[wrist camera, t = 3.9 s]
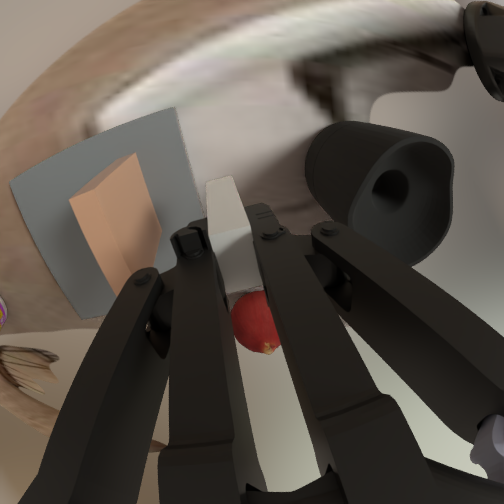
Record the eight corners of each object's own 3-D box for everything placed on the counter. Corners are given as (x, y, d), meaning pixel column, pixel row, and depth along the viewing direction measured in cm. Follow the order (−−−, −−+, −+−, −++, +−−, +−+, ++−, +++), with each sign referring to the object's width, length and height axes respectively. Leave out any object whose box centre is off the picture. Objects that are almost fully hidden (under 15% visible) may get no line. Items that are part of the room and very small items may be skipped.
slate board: (175, 106, 19) (173, 107, 18) (224, 280, 28) (225, 287, 27) (15, 177, 18) (8, 181, 17) (84, 312, 27) (81, 319, 26)
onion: (277, 313, 31) (296, 368, 25) (227, 317, 30) (236, 376, 24) (282, 272, 28) (306, 328, 22) (226, 275, 27) (236, 336, 21)
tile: (135, 152, 19) (94, 189, 11) (162, 230, 22) (145, 301, 15) (115, 159, 19) (66, 200, 11) (143, 235, 22) (120, 307, 15)
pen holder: (281, 191, 24) (325, 249, 15) (327, 97, 20) (401, 104, 11) (359, 225, 27) (415, 282, 19) (400, 146, 23) (475, 180, 15)
